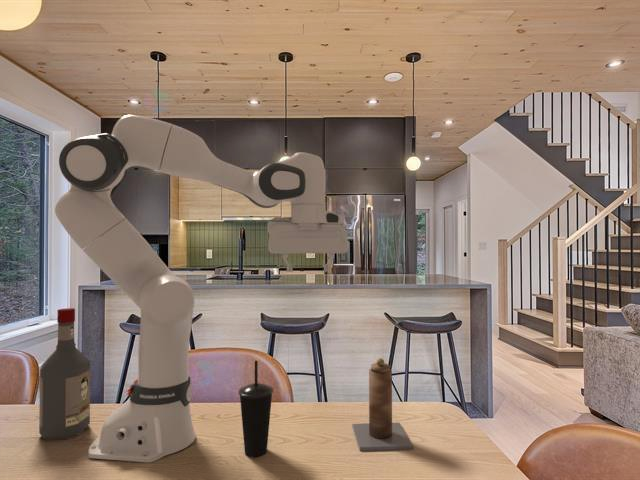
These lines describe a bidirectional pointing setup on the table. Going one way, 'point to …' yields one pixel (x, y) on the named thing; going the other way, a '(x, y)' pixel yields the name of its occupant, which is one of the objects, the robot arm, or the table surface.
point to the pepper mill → (380, 400)
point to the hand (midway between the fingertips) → (308, 271)
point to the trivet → (369, 443)
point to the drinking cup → (255, 416)
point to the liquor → (64, 385)
